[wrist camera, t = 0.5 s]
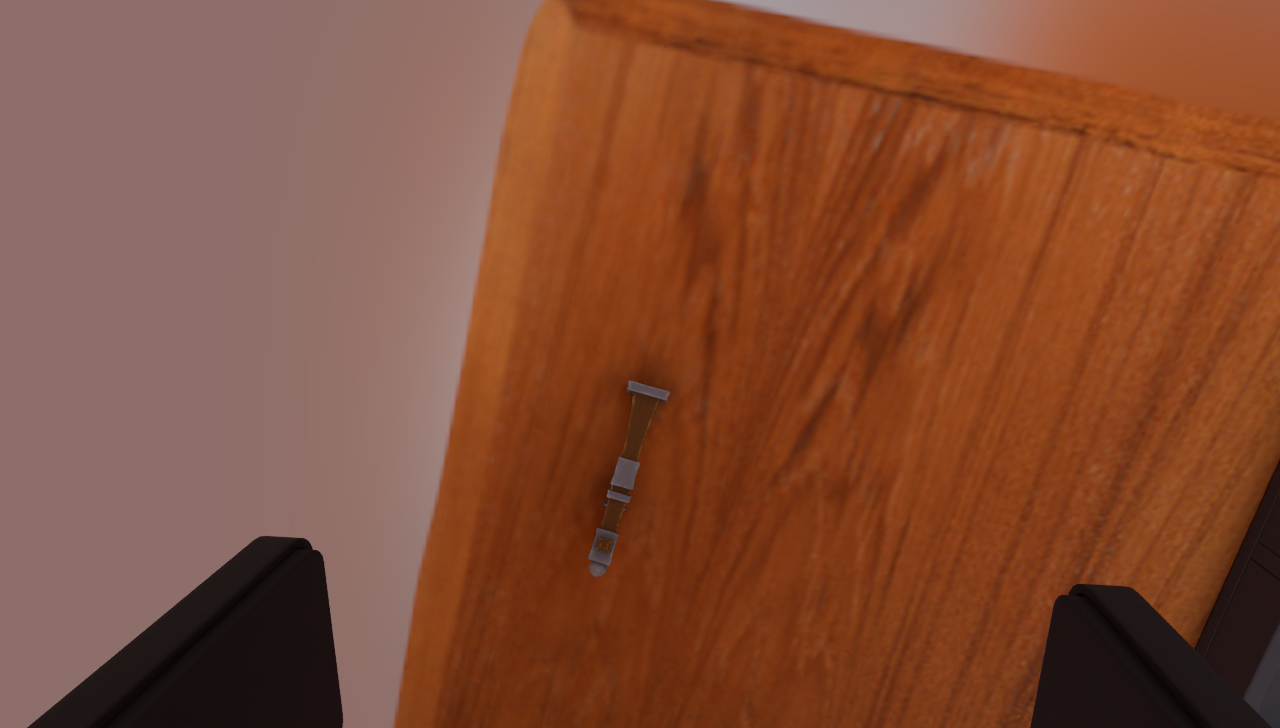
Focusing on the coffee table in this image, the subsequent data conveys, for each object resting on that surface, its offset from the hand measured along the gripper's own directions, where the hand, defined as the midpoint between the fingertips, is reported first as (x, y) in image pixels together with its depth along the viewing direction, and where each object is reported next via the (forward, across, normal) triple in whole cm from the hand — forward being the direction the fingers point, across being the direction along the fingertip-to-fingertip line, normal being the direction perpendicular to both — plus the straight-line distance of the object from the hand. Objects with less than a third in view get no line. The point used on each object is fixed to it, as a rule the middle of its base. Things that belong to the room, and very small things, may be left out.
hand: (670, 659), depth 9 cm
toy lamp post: (+22, +3, +7) cm, 23 cm away
